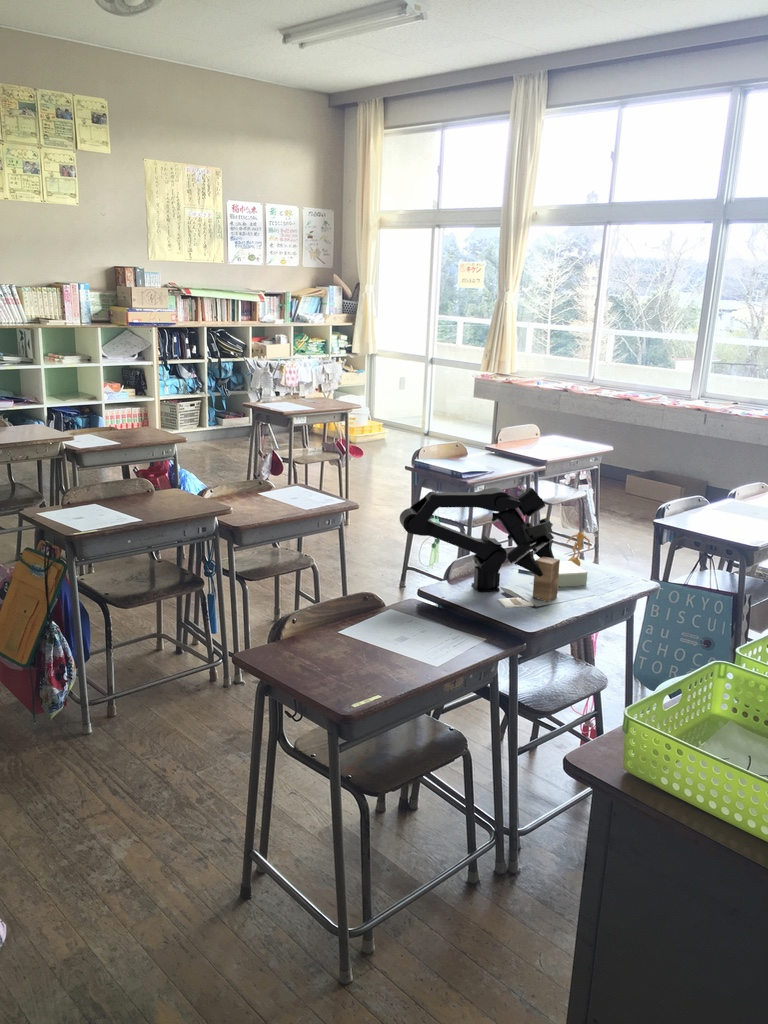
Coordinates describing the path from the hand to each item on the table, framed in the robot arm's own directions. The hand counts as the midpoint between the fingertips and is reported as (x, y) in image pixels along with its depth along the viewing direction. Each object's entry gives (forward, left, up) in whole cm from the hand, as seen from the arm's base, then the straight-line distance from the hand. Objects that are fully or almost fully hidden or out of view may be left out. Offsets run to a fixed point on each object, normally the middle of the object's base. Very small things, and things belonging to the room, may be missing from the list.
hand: (548, 571), depth 227 cm
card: (-11, -3, -8) cm, 13 cm away
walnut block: (-1, 0, -8) cm, 8 cm away
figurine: (+19, +22, -8) cm, 31 cm away
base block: (+10, +13, -8) cm, 19 cm away
